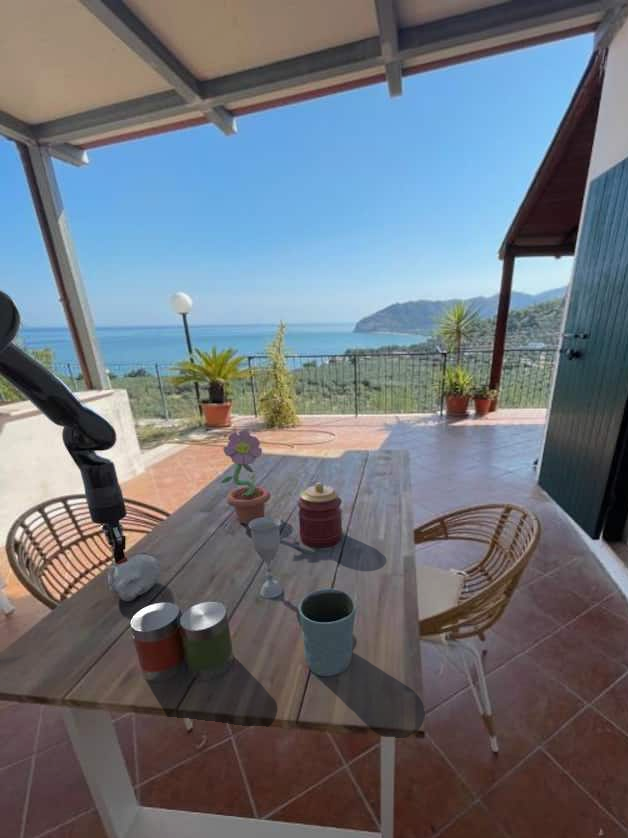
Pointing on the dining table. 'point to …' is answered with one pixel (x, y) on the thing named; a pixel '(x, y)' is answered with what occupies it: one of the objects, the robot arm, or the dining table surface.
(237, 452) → the decorative flower
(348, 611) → the light blue cup
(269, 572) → the chalice
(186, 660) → the tin cans
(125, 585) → the grey rounded lumpy piece
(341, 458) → the dining table surface
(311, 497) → the kitchen canister
